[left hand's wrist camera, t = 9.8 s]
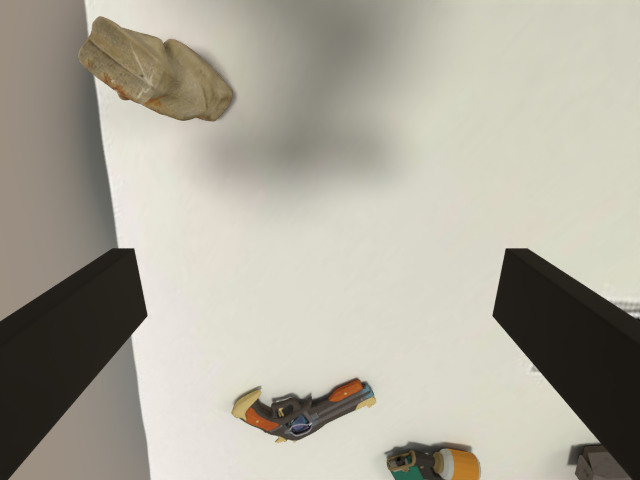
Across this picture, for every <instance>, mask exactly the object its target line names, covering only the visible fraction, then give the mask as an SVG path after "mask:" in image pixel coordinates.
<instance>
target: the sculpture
mask: <svg viewBox="0 0 640 480" xmlns="http://www.w3.org/2000/svg"><path fill="white" fill-rule="evenodd" d="M78 58H79V61H80V62H81V64H82V65H83V66H84V67H85V68H86V69H87V70H89V71H90V72H91V73H92V74H93V75H95V76H96V77H97V78H98V79H100V80H101V81H103V82H104V83H105V84H107V85H108V86H109V87H111V88H112V89H113V90H115V91H116V92H117V93H118V95H119V97H120V98H121V99H122V100H132V101H134V102H136V103H139V104H142V105H143V106H145V107H147V108H149V109H151V110H153V111H155V112H157V113H159V114H162V115H166V116H169V117H172V118H175V119H177V120H182V121H185V120H190V119H193V118H199V119H202V120H206V121H216V120H217V119H218V118H219V117H220V116H221V114H222V113H223V112H224V111H225V109H226V108H227V106H228V105H229V103H230V101H231V99H232V94H233V91H232V89H231V88H230V87H229V86H228V85H227V84H226V83H225V82H224V80H223V79H222V78H221V77H220V76H219V74H218V73H217V72H216V71H215V70H214V69H213V68H212V67H211V66H210V65H209V64H208V63H207V62H206V61H205V60H203V59H202V58H201V57H200V56H199V55H198V54H196V53H195V52H194V51H193V50H191V49H190V48H189V47H188V46H186V45H185V44H183V43H181V42H179V41H177V40H174V39H169V40H167V41H166V42H165V43H164V44H163V42H162V40H161V39H159V38H157V37H154V36H151V35H147V34H143V33H139V32H135V31H132V30H129V29H125V28H122V27H120V26H119V25H118V24H116V23H115V22H113V21H111V20H109V19H107V18H104V17H101V16H99V17H98V18H97V19H96V20H95V21H94V22H93V24H92V31H91V34H90V36H89V37H88V39H87V40H86V41H85V43H84V44H83V45H82V47H81V49H80V50H79V54H78Z"/></svg>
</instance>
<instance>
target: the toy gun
mask: <svg viewBox="0 0 640 480" xmlns="http://www.w3.org/2000/svg"><path fill="white" fill-rule="evenodd" d="M260 394H261V391H260V390H256V391H254V392H252V393H250V394H247V395H245V396H244V397H242V398H241V399H239V400H238V401H237V402H236V404H235V405H234V407H233V410H232V414H233V416H234V417H236V418H240V419H241V420H243V421H244V422H246V423H248V424H250V425H252V426H254V427H257V428H259V429H261V430H263V431H264V432H265V433H268V434H271V435H276V436H278V437H279V438H278V439H277V440H276V441H275V442H276V443H280V442H283V441H284V442H286V441H287V440H288V439H289V440H293V442H296V441H297V440H300V439H302V438H304V437H306V436H308V435H310V434H312V433H314V432H316V431H317V430H319V429H320V428H321V427H323V426H324V425H325V424H327V423H329V422H331V421H333V420H335V419H337V418H339V417H341V416H343V415H345V414H348V413H350V412H352V411H354V410H357V409H359V408H362V407H364V406H366V405H367V406H368V408H369V407H371V406H372V405H374V404H375V403H376V399H375V397H374V393H373V391H372V389H370V388H369V386H368V384H367V385H365V384H364V385H362V384H361V382H360V381H359V380H355V381H353V382H351V383H349V384H347V385H344V386H342V387H340V388H338V389H336V390H335V391H334V392H333V393H332V394H331V396H330V397H329V398H328V399H326V400H324V401H322V402H320V403H317V404H313V405H311V403H312V396H311V397H310V398H309V399H308V400H307V401H306V402H304V403H303V404H300V403H299V401H298V400H297V399H295V398H292V397H291V398H289V399H287V400H285V401H281V402H277V403H272V405H271V409H272V411H273V414H272V413H269V412H268V411H266V410H264V409H263V408H261V406H260V405H259V403H258V401H257V399H258V397H259V396H260ZM288 405H292V406H293V409H291V410H289V411H287V412H285V413H283V412H282V409H283V408H284V407H286V406H288ZM277 408H279V411H280V412H281V414H280V412H279V414H278V413H277V412H276V409H277ZM293 419H295V420H294V421H293V423H292V424H291V425H290V423H291V420H293ZM288 422H290V423H289V424H288ZM309 422H310V423H312V425H310V426H309V424H310V423H309ZM293 430H294V431H293Z"/></svg>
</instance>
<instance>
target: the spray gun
mask: <svg viewBox="0 0 640 480" xmlns="http://www.w3.org/2000/svg"><path fill="white" fill-rule="evenodd" d="M411 454H412V455H411ZM409 455H411V457H410V456H409ZM405 456H407V457H406V458H405ZM393 459H395V461H392V462H391V463H390V465H389V462H390V460H393ZM432 466H433V469H434V470H432V468H431V467H432ZM387 467H388V469H389V470H390V471H391V473H392V475H393V477H394V479H395V480H479V479H480V476H481V467H480V462H479V461H478V459H477V457H476V456H475V455H474V454H473V453H471V452H465V451H459V450H453V449H441V450H440V451H439V452H435V453H434V454H433V456H430V455H426V454H422V453H418V452H414V451H413V450H410V451H409V453H405V454H401V455H397V456H393V457H390V458H388V459H387Z"/></svg>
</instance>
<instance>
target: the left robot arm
mask: <svg viewBox="0 0 640 480" xmlns="http://www.w3.org/2000/svg"><path fill="white" fill-rule="evenodd" d="M147 316H148V315H147V310H146V305H145V300H144V295H143V290H142V285H141V280H140V275H139V270H138V265H137V260H136V255H135V250H134V248H113V249H111V250H109V251H108V252H106V253H105V254H103V255H102V256H100V257H99V258H97V259H96V260H94V261H92V262H91V263H89V264H88V265H86V266H85V267H83V268H82V269H80V270H79V271H77V272H75V273H74V274H72V275H71V276H69V277H68V278H66V279H65V280H63V281H62V282H60V283H59V284H57V285H55V286H54V287H52V288H51V289H49V290H48V291H46V292H45V293H43V294H42V295H40V296H39V297H37V298H36V299H34V300H33V301H31V302H29V303H28V304H26V305H25V306H23V307H22V308H20V309H19V310H17V311H15V312H14V313H12V314H11V315H9V316H8V317H6V318H5V319H3V320H2V321H0V480H8V479H9V478H10V477H11V476H12V474H13V473H14V472H15V471H16V470H17V468H18V467H19V466H20V465H21V464H22V463H23V461H24V460H25V459H26V458H27V457H28V456H29V454H30V453H31V452H32V451H33V450H34V449H35V447H36V446H37V445H38V444H39V443H40V441H41V440H42V439H43V438H44V437H45V436H46V434H47V433H48V432H49V431H50V430H51V429H52V427H53V426H54V425H55V424H56V423H57V422H58V420H59V419H60V418H61V417H62V416H63V415H64V413H65V412H66V411H67V410H68V409H69V407H70V406H71V405H72V404H73V403H74V402H75V400H76V399H77V398H78V397H79V396H80V395H81V393H82V392H83V391H84V390H85V389H86V387H87V386H88V385H89V384H90V383H91V382H92V380H93V379H94V378H95V377H96V376H97V375H98V373H99V372H100V371H101V370H102V369H103V368H104V366H105V365H106V364H107V363H108V362H109V360H110V359H111V358H112V357H113V356H114V355H115V353H116V352H117V351H118V350H119V349H120V348H121V346H122V345H123V344H124V343H125V342H126V341H127V339H128V338H129V337H130V336H131V335H132V334H133V332H134V331H135V330H136V329H137V328H138V327H139V325H140V324H141V323H142V322H143V321H144V319H145V318H146V317H147ZM492 316H493V317H494V318H495V319H496V321H497V322H498V323H499V324H500V325H501V327H502V328H503V329H504V330H505V331H506V332H507V334H508V335H509V336H510V337H511V338H512V339H513V341H514V342H515V343H516V344H517V345H518V346H519V348H520V349H521V350H522V351H523V352H524V354H525V355H526V356H527V357H528V358H529V359H530V361H531V362H532V363H533V364H534V365H535V366H536V368H537V369H538V370H539V371H540V372H541V373H542V375H543V376H544V377H545V378H546V379H547V380H548V382H549V383H550V384H551V385H552V386H553V388H554V389H555V390H556V391H557V392H558V393H559V395H560V396H561V397H562V398H563V399H564V400H565V402H566V403H567V404H568V405H569V406H570V407H571V409H572V410H573V411H574V412H575V413H576V415H577V416H578V417H579V418H580V419H581V420H582V422H583V423H584V424H585V425H586V426H587V427H588V429H589V430H590V431H591V432H592V433H593V434H594V436H595V437H596V438H597V439H598V440H599V441H600V443H601V444H602V445H603V446H604V447H605V449H606V450H607V451H608V452H609V453H610V454H611V456H612V457H613V458H614V459H615V460H616V461H617V463H618V464H619V465H620V466H621V467H622V468H623V470H624V471H625V472H626V473H627V474H628V476H629V477H630V478H631V479H632V480H640V321H638V320H637V319H635V318H634V317H632V316H631V315H629V314H628V313H626V312H625V311H623V310H621V309H620V308H618V307H617V306H615V305H614V304H612V303H611V302H609V301H608V300H606V299H605V298H603V297H601V296H600V295H598V294H597V293H595V292H594V291H592V290H591V289H589V288H588V287H586V286H585V285H583V284H581V283H580V282H578V281H577V280H575V279H574V278H572V277H571V276H569V275H568V274H566V273H565V272H563V271H561V270H560V269H558V268H557V267H555V266H554V265H552V264H551V263H549V262H548V261H546V260H545V259H543V258H541V257H540V256H538V255H537V254H535V253H534V252H532V251H531V250H529V249H528V248H506V250H505V255H504V260H503V265H502V270H501V275H500V280H499V285H498V290H497V295H496V300H495V305H494V310H493V315H492Z"/></svg>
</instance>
